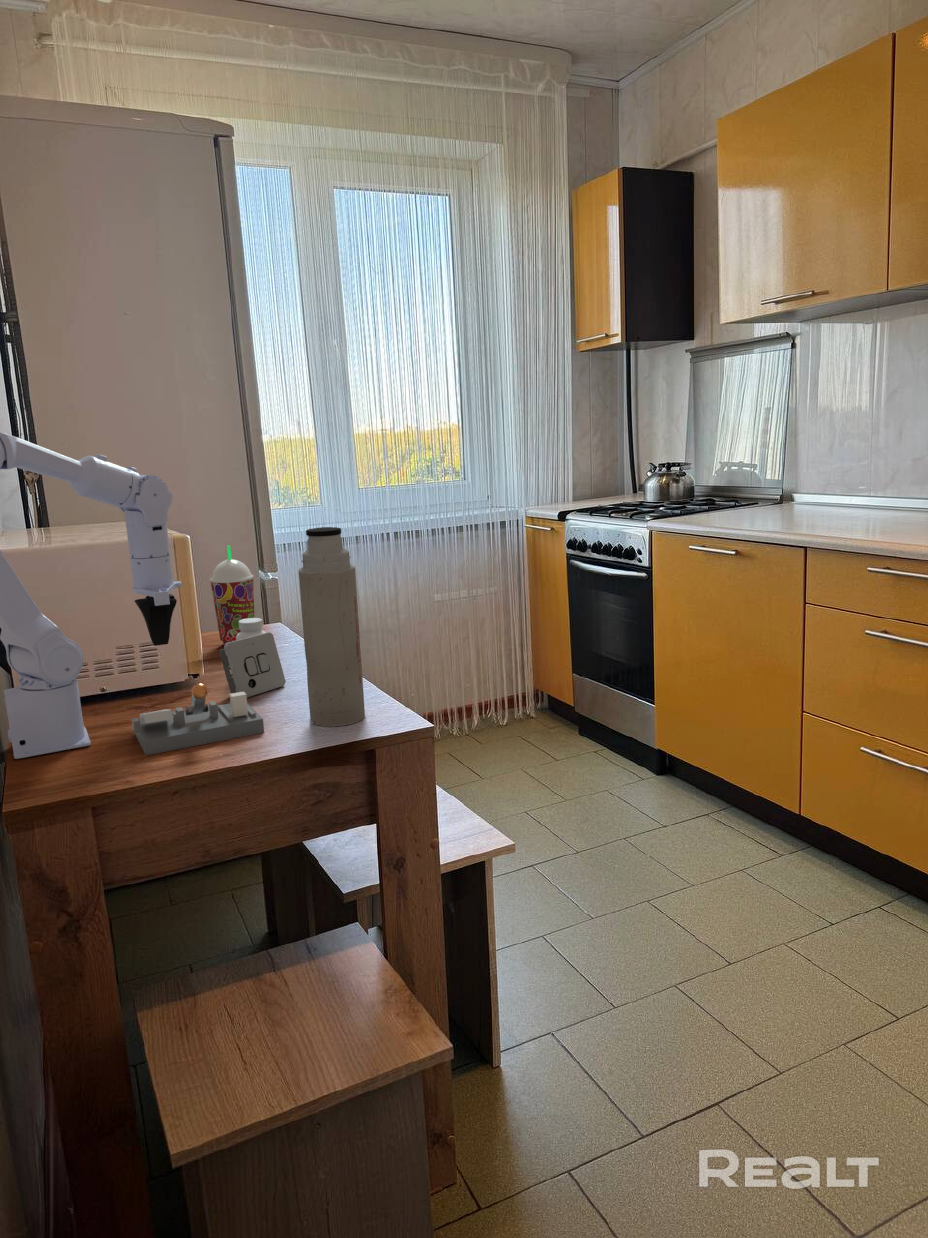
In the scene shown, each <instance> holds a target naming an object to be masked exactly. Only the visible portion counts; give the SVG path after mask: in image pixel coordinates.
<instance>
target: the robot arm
mask: <svg viewBox="0 0 928 1238" xmlns="http://www.w3.org/2000/svg"><path fill="white" fill-rule="evenodd" d="M14 468H16V469H20V470H24V471H26V472H27V471H28V472H31V473H34V474H38V475H41V476H45V477H49V478H52V479H56V480H59V481H62V482H67V483H69V484H70V487H71V488H72V490H73V492H74V493H75V494H76V495H78V496H80V497H84V498H88V499H90V500H93V501H97V502H101V503H103V504H106V505H110V506H113V507H116V508H118V509H119V511H121V512H122V513H124V519H125V527H126V528H125V529H126V535H127V545H128V552H129V561H130V569H131V577H132V587H131V588H132V593H134V594H137V595H138V594H139V595H142V596H145V598H137V599H134V603H135V604H136V606H137V607H138V609H139V610H140V612H141V615H142V616H143V619H144V622H145V625H146V627H147V630H148V631H147V632H148V634H149V638H150V640H151V642H152V644H153V647H154V646H155V647H157V646H165V645H168V644H169V641H170V634H171V623H172V616H173V613H174V610H175V608H176V605H177V602H178V600H177V599H176V598H175V595H174V594H171V593H172V592H173V591H174V590H175V589H176V588H178V589H179V588H182V587H183V583H182V581H180V580H177V581H174V577H173V567H172V559H171V558H172V557H171V548H170V539H169V532H168V530H169V529H168V521H169V519H168V518H169V517H168V511H169V509H170V507H171V505H172V502H173V492H170V490H169V488H168V485H167V483H166V482H165V481H164V480H163V479H162V478H161V477H159V476H158V475H155V474H151V475H150V474H140V473H138V468H136V467H133V466H127V467H124V466H121V465H118V464H115V463H113V462H110V461H108V456H106V455H104V454H97V453H96V454H94V455H86V456H83V457H82V458H80V459H74V458H72V457H68V456H66V455H63V454H61V453H59V452H56V451H53V450H51V449H48V448H46V447H44V446H40V445H38V444H35V443H33V442H31V441H28V440H25V439H22V438H20V437H17V436H14V435H11V434H9V433H6V432H1V431H0V470H12V469H14ZM0 629H1V631H0V641H1V642H2V645H3V646H4V648H5V651H6V661H7V663H8V665H9V667H10V668H11V669H12V671H14V673H17V674H18V678H19V679H18V686H15V687H12V688H7V689H4V690H3V694H4V701H5V702H4V703H5V707H6V716H7V719H8V720H7V721H8V727H9V729H7V730H6V731H7V735H8V737H7V738H8V741H9V744H10V743H11V745H12V751H13V758H14V759H15V760H18V759H24V758H29V757H35V756H41V755H45V754H51V753H56V752H62V751H66V750H71V749H77V748H82V747H87V746H90V745H91V743H92V742H91V739H90V736H89V734H88V730H87V728H86V727H85V725H84V719H83V712H82V703H81V696H80V691H79V683H78V682H79V681H78V675H79V674H80V673H81V671H82V669H83V666H84V653H83V650H82V649H81V647H80V645H79V644H78V643H77V642H75V641H74V640H72V639H70V638H68V637H66V635H64V634H63V632H62V631H61V629H60V628H59V626H58V625H56V624H55V623H54V622H53V621H51V620H50V619H49V618H48V617H47V616H45V614H43V613H42V611H41V610H40V608H39V607H38V606H37V604H36V602H35V601H34V600H33V598H32V596H31V595H30V593H29V591H28V590H27V589H26V587H25V585H24V584H23V583H22V581H21V579H20V577H19V576H18V575H17V573H16V571H15V570H14V569H13V566H11V564H10V562H9V561H8V559H7V557H6V556H5V555H4V554H3V552H2V550H1V549H0Z"/></svg>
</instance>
